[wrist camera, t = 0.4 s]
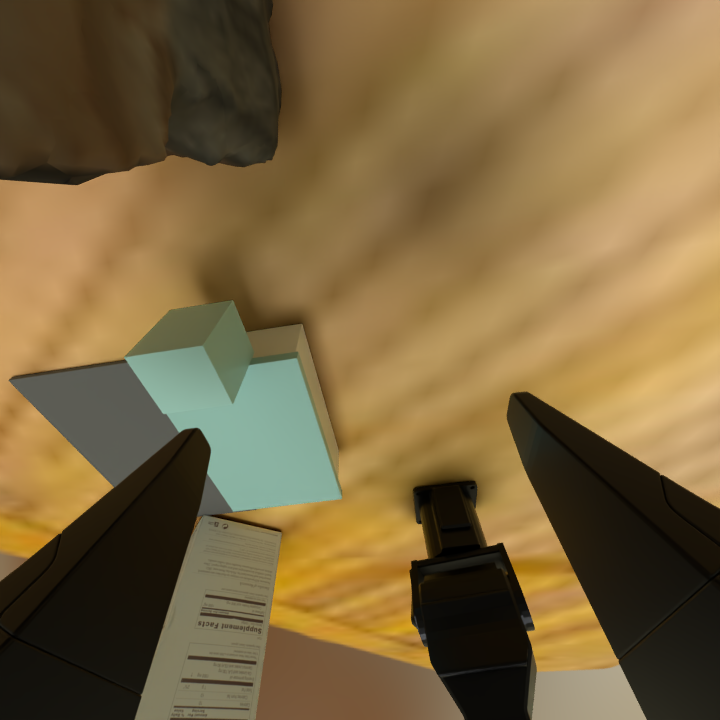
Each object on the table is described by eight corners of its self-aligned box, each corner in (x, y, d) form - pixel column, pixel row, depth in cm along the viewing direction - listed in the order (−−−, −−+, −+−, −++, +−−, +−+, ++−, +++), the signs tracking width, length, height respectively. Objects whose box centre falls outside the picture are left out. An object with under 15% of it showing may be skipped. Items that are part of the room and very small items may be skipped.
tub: (338, 450, 31) (337, 489, 27) (249, 462, 31) (237, 501, 28) (302, 323, 23) (294, 356, 20) (183, 341, 23) (156, 376, 20)
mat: (257, 506, 35) (256, 509, 35) (150, 518, 36) (148, 522, 36) (165, 354, 24) (163, 357, 24) (13, 376, 25) (8, 380, 24)
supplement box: (256, 563, 43) (215, 770, 29) (182, 549, 40) (99, 773, 26) (284, 531, 38) (252, 760, 25) (203, 512, 35) (115, 763, 22)
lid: (342, 484, 28) (341, 540, 24) (237, 497, 28) (220, 553, 25) (283, 292, 18) (265, 336, 14) (122, 317, 18) (64, 366, 15)
